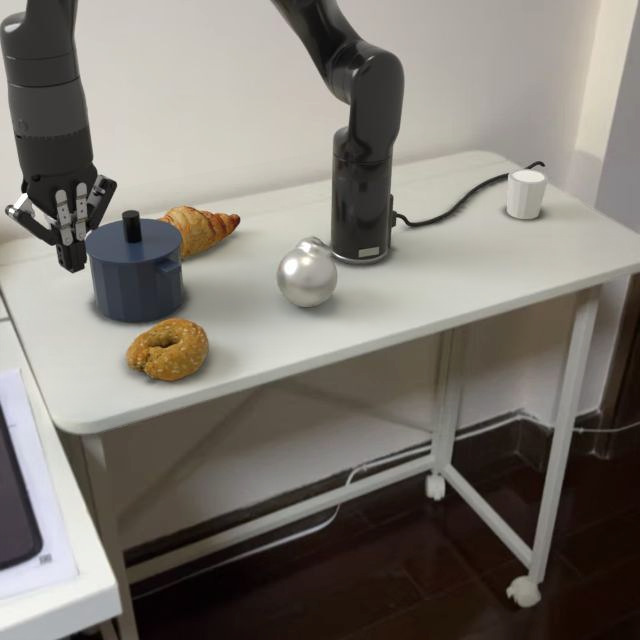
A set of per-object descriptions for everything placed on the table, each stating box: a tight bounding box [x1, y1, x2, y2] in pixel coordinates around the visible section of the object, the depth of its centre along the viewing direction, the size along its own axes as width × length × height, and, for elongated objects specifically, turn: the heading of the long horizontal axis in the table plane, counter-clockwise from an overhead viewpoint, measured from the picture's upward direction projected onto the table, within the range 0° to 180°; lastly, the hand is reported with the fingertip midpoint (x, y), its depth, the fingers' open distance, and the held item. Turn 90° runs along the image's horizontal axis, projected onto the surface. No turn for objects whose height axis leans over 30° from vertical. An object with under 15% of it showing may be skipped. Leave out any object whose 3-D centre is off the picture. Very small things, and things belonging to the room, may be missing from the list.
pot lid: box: [85, 209, 182, 266], centre depth 122 cm, size 14×14×5 cm
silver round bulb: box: [276, 235, 338, 308], centre depth 126 cm, size 9×10×10 cm
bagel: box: [125, 317, 210, 382], centre depth 114 cm, size 10×11×5 cm
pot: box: [88, 224, 185, 324], centre depth 126 cm, size 13×18×10 cm
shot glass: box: [506, 168, 549, 220], centre depth 153 cm, size 7×7×7 cm
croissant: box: [155, 205, 242, 260], centre depth 141 cm, size 21×10×8 cm, turn 123°
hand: (74, 269), depth 98 cm, fingers closed
